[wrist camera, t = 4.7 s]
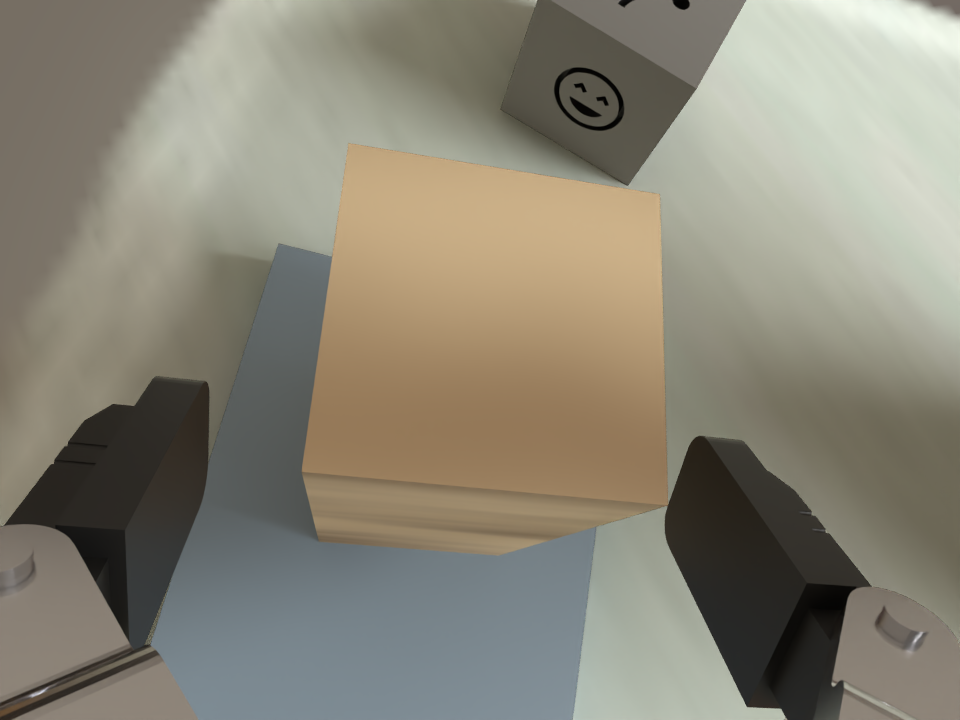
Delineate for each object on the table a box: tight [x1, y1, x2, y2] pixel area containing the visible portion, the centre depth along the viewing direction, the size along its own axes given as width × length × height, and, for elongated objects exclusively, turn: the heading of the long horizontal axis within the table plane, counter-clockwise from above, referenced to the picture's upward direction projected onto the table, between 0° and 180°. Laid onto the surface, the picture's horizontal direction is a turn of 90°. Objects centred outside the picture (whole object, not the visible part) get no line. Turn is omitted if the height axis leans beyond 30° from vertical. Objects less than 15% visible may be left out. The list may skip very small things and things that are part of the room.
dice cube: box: [501, 0, 746, 186], centre depth 23 cm, size 5×5×5 cm
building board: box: [150, 244, 596, 720], centre depth 17 cm, size 22×10×2 cm, turn 170°
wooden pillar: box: [302, 143, 668, 556], centre depth 14 cm, size 4×4×10 cm
